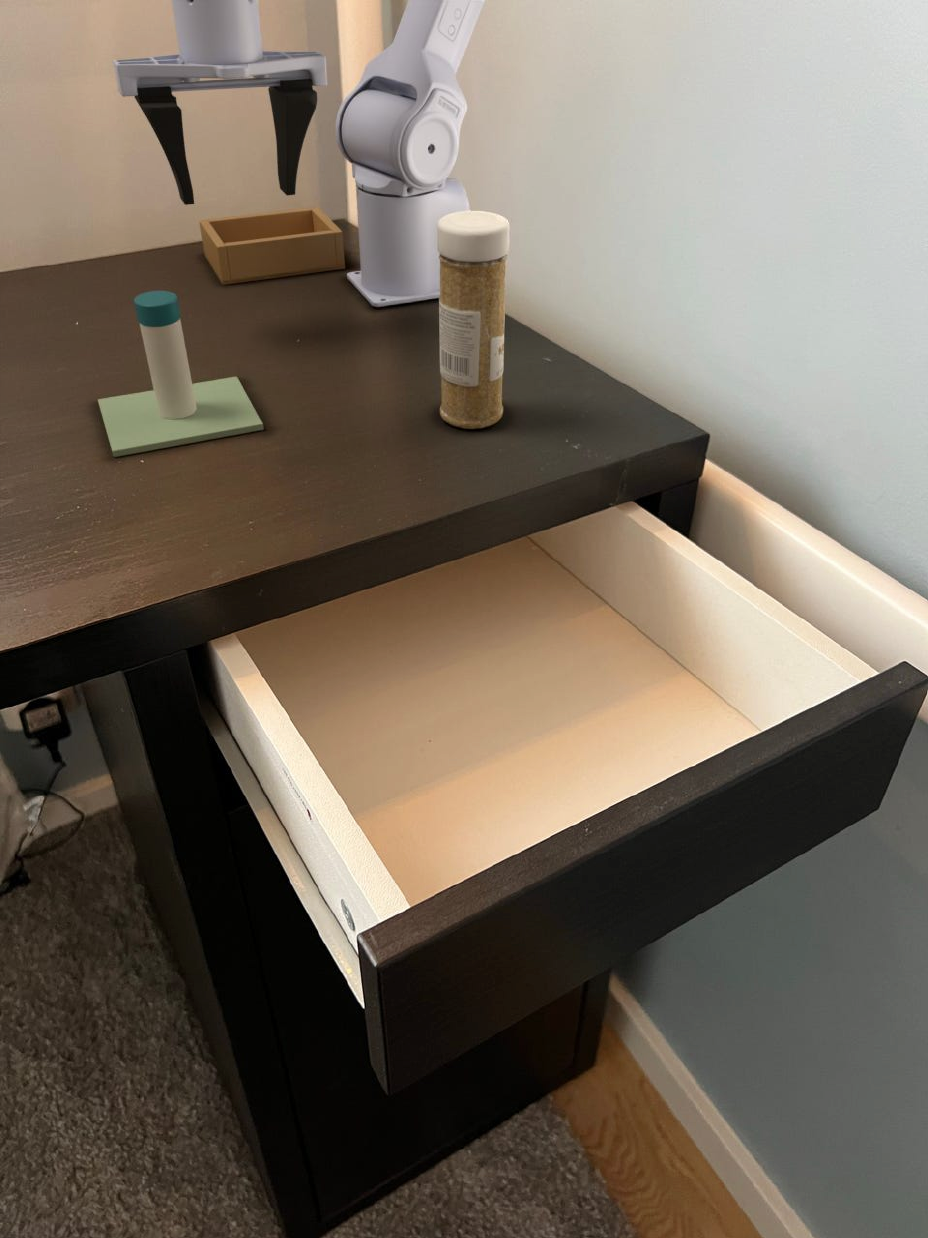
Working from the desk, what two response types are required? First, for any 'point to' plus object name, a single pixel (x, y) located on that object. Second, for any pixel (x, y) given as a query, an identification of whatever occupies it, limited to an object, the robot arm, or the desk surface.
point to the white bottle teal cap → (166, 353)
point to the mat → (145, 430)
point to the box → (272, 245)
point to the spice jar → (472, 316)
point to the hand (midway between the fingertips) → (238, 196)
